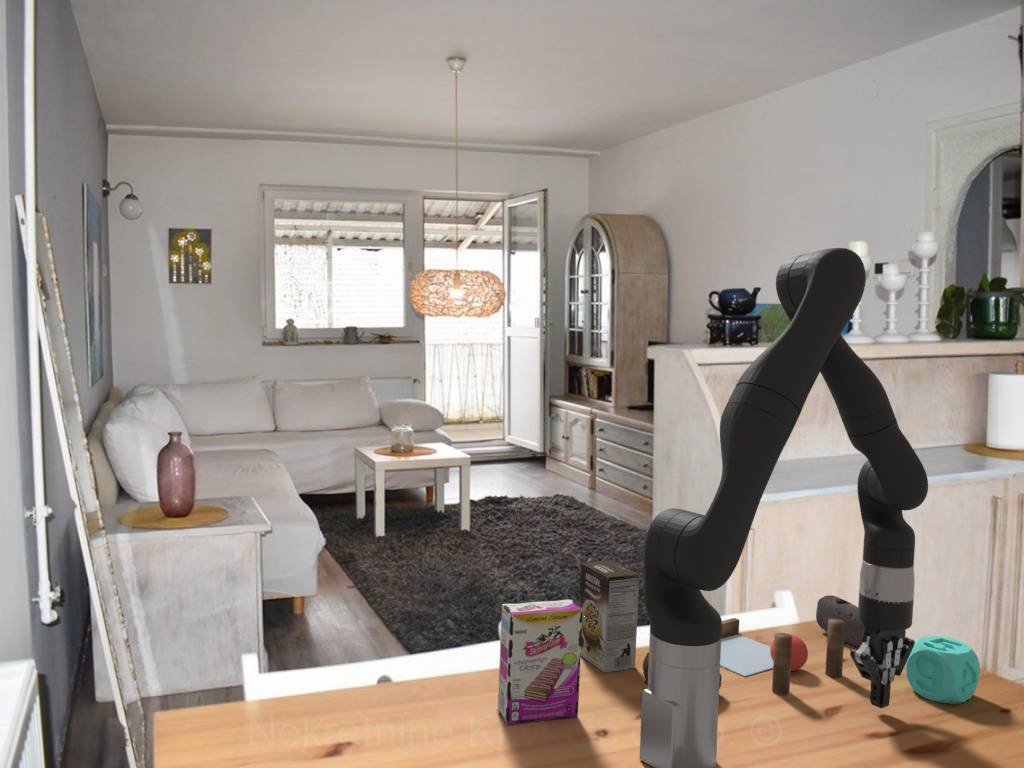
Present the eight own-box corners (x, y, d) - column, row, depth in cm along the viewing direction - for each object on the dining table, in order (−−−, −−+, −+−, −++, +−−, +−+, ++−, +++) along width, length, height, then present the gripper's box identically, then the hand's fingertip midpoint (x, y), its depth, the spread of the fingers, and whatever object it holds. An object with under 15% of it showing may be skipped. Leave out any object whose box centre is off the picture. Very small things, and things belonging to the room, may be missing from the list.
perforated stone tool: (892, 656, 163) (894, 617, 162) (867, 659, 161) (869, 620, 161) (835, 627, 177) (837, 592, 177) (812, 630, 175) (814, 594, 175)
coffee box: (576, 654, 161) (579, 562, 159) (608, 649, 163) (611, 558, 162) (603, 673, 152) (606, 576, 151) (637, 668, 155) (640, 572, 154)
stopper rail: (675, 649, 164) (676, 635, 164) (670, 647, 165) (671, 633, 165) (738, 632, 173) (739, 619, 173) (733, 630, 174) (734, 617, 174)
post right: (835, 679, 152) (838, 625, 151) (822, 673, 154) (824, 620, 154) (845, 675, 154) (848, 622, 153) (832, 670, 156) (834, 617, 155)
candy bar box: (507, 727, 132) (509, 614, 131) (497, 712, 137) (499, 603, 136) (580, 718, 136) (583, 607, 134) (568, 703, 141) (571, 597, 139)
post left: (781, 696, 145) (784, 639, 144) (768, 690, 147) (771, 634, 146) (792, 692, 146) (795, 636, 146) (779, 687, 149) (782, 631, 148)
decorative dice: (978, 696, 147) (982, 646, 146) (953, 709, 142) (957, 658, 141) (929, 679, 153) (932, 632, 152) (903, 691, 148) (906, 642, 147)
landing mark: (744, 677, 152) (744, 675, 152) (683, 649, 164) (683, 648, 164) (800, 660, 160) (800, 659, 160) (738, 635, 172) (738, 634, 172)
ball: (797, 670, 150) (786, 632, 152) (768, 675, 155) (758, 638, 157) (819, 666, 154) (809, 629, 156) (790, 671, 158) (781, 635, 160)
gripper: (881, 606, 131) (874, 725, 133) (935, 591, 139) (928, 704, 140) (836, 592, 137) (830, 706, 139) (890, 579, 145) (884, 687, 146)
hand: (879, 705), depth 140 cm, fingers closed
